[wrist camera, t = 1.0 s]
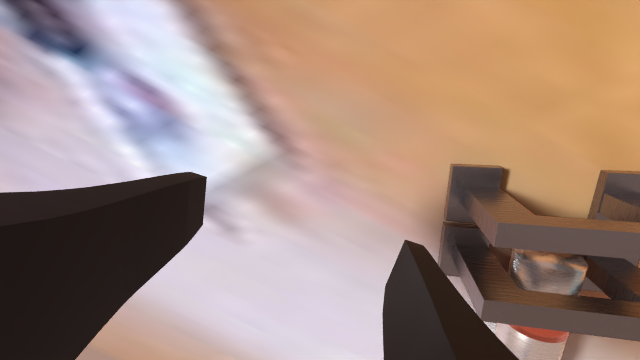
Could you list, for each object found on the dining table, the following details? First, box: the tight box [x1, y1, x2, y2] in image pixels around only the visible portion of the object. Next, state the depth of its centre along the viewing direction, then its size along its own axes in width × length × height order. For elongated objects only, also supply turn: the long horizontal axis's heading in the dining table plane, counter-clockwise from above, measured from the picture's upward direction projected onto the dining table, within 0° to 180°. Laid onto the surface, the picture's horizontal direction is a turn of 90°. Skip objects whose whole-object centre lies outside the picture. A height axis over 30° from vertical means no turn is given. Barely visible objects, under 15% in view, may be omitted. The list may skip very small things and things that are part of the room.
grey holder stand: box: [438, 222, 640, 341], centre depth 16 cm, size 4×11×6 cm, turn 89°
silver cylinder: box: [495, 249, 588, 360], centre depth 19 cm, size 14×4×4 cm, turn 179°
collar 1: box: [444, 164, 640, 260], centre depth 15 cm, size 4×11×6 cm, turn 89°
